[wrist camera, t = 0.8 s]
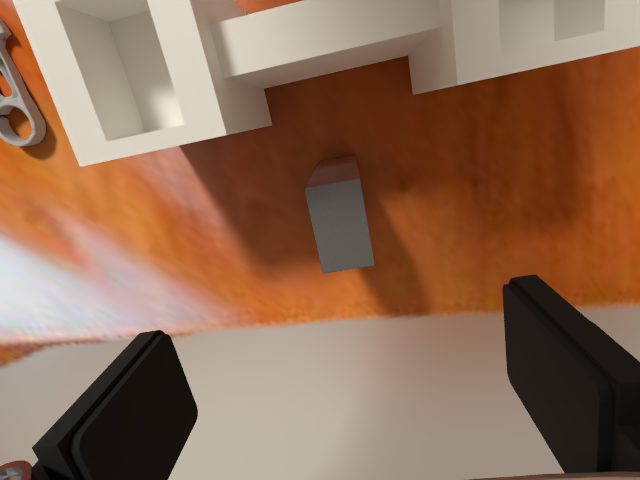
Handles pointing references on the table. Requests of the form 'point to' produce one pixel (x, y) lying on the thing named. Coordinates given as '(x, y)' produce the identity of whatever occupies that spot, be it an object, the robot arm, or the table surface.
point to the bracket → (17, 99)
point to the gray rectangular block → (339, 215)
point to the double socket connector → (280, 56)
